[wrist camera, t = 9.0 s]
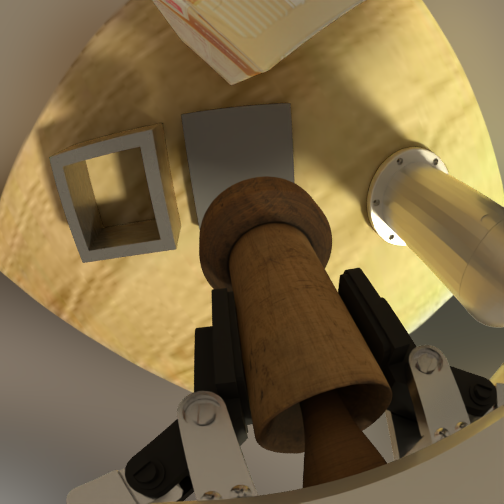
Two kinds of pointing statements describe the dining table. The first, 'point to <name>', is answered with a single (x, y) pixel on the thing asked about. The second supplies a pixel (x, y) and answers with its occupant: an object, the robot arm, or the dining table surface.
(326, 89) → the dining table surface
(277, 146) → the coaster
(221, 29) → the coffeecake box
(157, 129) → the open square box
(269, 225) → the wooden pepper mill
